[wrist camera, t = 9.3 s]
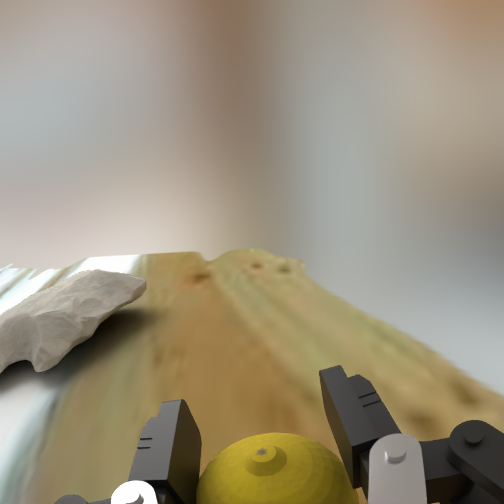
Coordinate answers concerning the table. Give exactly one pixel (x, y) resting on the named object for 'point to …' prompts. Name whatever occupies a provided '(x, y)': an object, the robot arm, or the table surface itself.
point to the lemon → (276, 473)
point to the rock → (63, 316)
